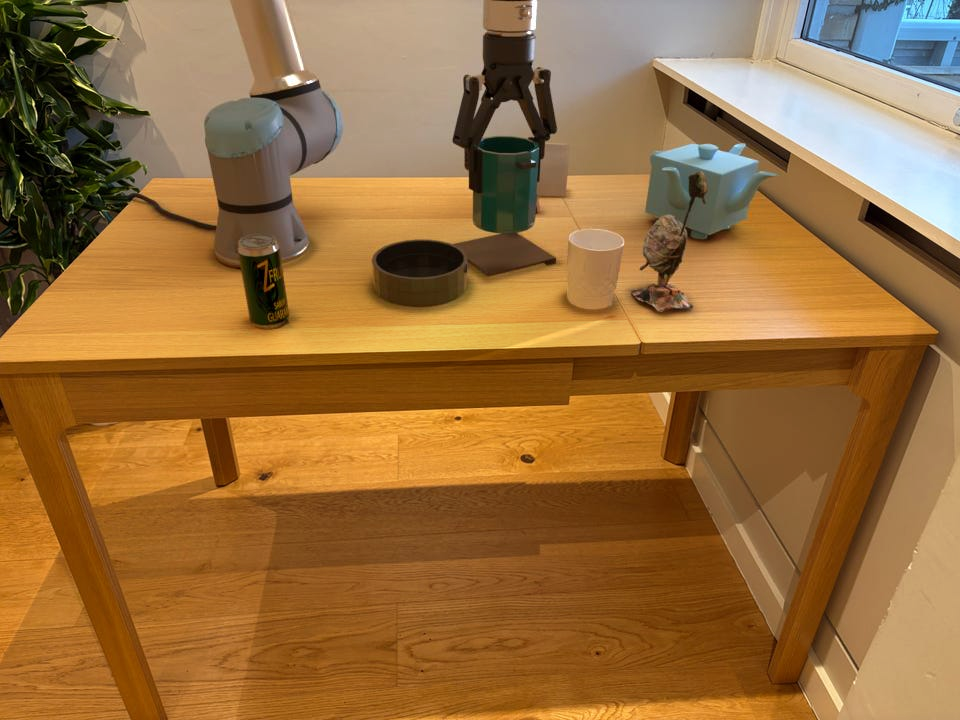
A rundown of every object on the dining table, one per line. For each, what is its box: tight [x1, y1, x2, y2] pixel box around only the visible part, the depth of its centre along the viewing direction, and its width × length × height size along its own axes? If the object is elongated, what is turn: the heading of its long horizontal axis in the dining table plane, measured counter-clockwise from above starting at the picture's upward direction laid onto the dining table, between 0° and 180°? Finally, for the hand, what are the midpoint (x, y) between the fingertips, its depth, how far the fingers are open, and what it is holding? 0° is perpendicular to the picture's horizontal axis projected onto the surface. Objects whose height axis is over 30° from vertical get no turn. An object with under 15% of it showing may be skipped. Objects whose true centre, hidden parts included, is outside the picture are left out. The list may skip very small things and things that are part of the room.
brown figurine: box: [630, 171, 708, 313], centre depth 104 cm, size 8×11×20 cm
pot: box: [472, 135, 539, 234], centre depth 114 cm, size 13×10×12 cm
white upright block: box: [537, 142, 570, 198], centre depth 145 cm, size 4×7×10 cm, turn 86°
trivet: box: [452, 232, 557, 278], centre depth 120 cm, size 13×13×1 cm
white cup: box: [566, 228, 625, 310], centre depth 105 cm, size 8×8×10 cm
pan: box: [371, 238, 469, 308], centre depth 109 cm, size 14×14×5 cm
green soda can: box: [238, 234, 290, 330], centre depth 98 cm, size 5×5×12 cm
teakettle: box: [644, 142, 778, 240], centre depth 130 cm, size 19×19×15 cm
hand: (504, 185), depth 114 cm, fingers closed on pot, 10 cm apart
